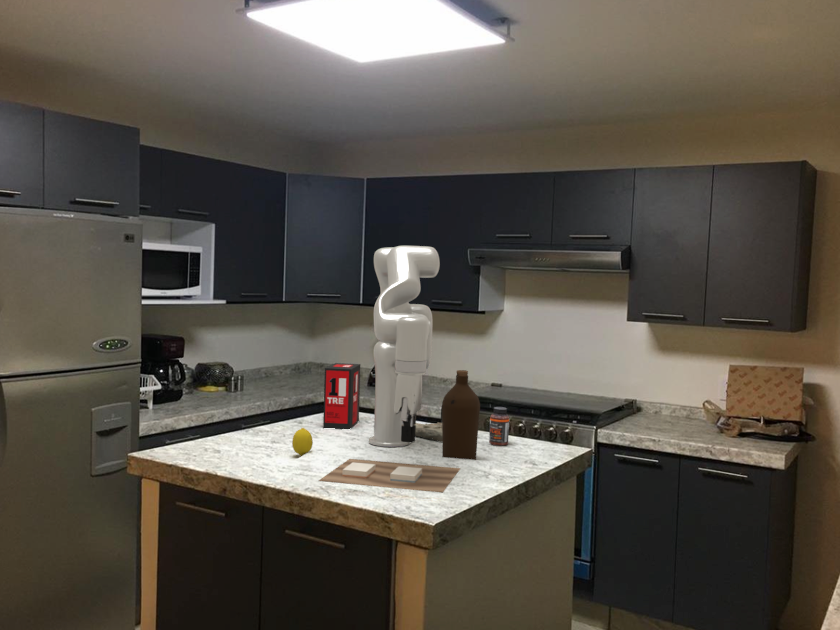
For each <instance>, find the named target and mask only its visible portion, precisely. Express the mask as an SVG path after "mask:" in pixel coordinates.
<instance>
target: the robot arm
mask: <svg viewBox="0 0 840 630" xmlns="http://www.w3.org/2000/svg"><path fill="white" fill-rule="evenodd" d="M373 254H374V255H373V267H374V271H375V274H376V277H377V281H378V283H379V287H380V294H379V295H378V296H377V297H378V298H377V299H376V301H375V304H374V308H373V330H374V335H375V338H376V339H377V340H378V341H377V342H376V344H374V346H373V361H374V363H373V364H374V371H375V372H374V373H375V377H374V378H375V385H374V386H375V387H374V388H375V394H374V420H373V423H374V425H373V426H374V429H373V436H371V437H369V438H368V443H369V444H370V445H373V446H376V447H377V446H378V447H386V448H387V447H388V448H393V447H394V448H395V447H398V448H399V447H404V446H408V445H410V444H412V443H414V442H415V441H416V436H415V432H416V425H415V424H416V423H417V413H418V412H419V411H420V410H421V409H422V403H423V402H422V401H423V400H422V399H423V376H424V375H426V374H427V370H429V368H430V366H431V362H432V349H433V348H432V347H433V346H432V345H433V328H434V327H433V326H434V325H433V322H434V321H433V313H432V311H431V309H430V307H429V306H428V305H425V304H419V303H417V304H416V303H409V302H411V301H413V300H415V299H417V297H418V296H419V295H420V293H421V287H422V286H421V281H420V280H421V279H420V278H423V279H424V278H425V279H426V278H428V279H429V278H435V277H436V276H437V275H438V273H439V270H440V265H441V264H440V256H439V252H438V251H437V250H436V248H435V247H432V246H427V245H426V246H425V245H423V246H422V245H421V246H420V245H398V246H394V247H392V246H391V247H387V246H386V247H381V248H378V249H377V250H376V251H374V253H373Z"/></svg>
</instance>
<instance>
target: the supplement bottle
mask: <svg viewBox="0 0 840 630" xmlns="http://www.w3.org/2000/svg"><path fill="white" fill-rule="evenodd" d="M507 409H508V408H506V407H503V406H494V407H493V413H492V414H491V415H490V416H489V417H490V418H489V437H488V442H489V444H490V445H491V446H499V447H504V446H507V445H508V444H509V434H510V416H509V415H508V413H507V411H508V410H507Z"/></svg>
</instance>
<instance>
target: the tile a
mask: <svg viewBox="0 0 840 630" xmlns="http://www.w3.org/2000/svg"><path fill="white" fill-rule="evenodd" d="M375 467H376V464H366V463H355V462H352V463H351V464H350V465H348V466H347V467H346V468H344V469H343V476H347V477H358V478H367V477H368V476H370V475H371V474H372V473H373V472H374V471H375Z"/></svg>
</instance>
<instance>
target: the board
mask: <svg viewBox="0 0 840 630" xmlns="http://www.w3.org/2000/svg"><path fill="white" fill-rule="evenodd" d="M352 462H355V463H366V464H376V467H375V471H374V472H373V473H372V474H371V475H370V476H368V477H367V478H358V477H347V476H343V469H344V468H346V467H347V466H348V465H350V464H351V463H352ZM399 466H401V467H412V468H422V475H421V476H420V477H419V478H418V480H417V481H416V482H415V483H412V482H401V481H390V474H391V473H392V472H393V471H394V470H395V469H396V468H397V467H399ZM460 470H461V467H460V468H459V467H450V466H449V467H448V466H437V465H427V464H416V463H415V464H413V463H403V462H391V461H380V460H367V459H359V458H358V459H355V458H348V459H347V460H346V461H344V462H342V463H341V464H340V465H339V466H337V467H335V468H334V469H333V470H331V471H330V472H329V473H327V474H326V475H324V476H323V477H321V478H320V479H319V480H318V482H325V483H326V482H327V483H336V484H338V483H339V484H348V485H357V486H367V487H379V488H388V489H389V488H390V489H398V490H399V489H400V490H409V491H410V490H413V491H422V492H432V493H433V492H434V493H444V492H445V491H446V489H447V488H448V486H449V485H450V484H451V482H452V480H454V479H455V477H456V475H457V474H458V472H460ZM354 491H356V490H354ZM426 498H428V497H426Z"/></svg>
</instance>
